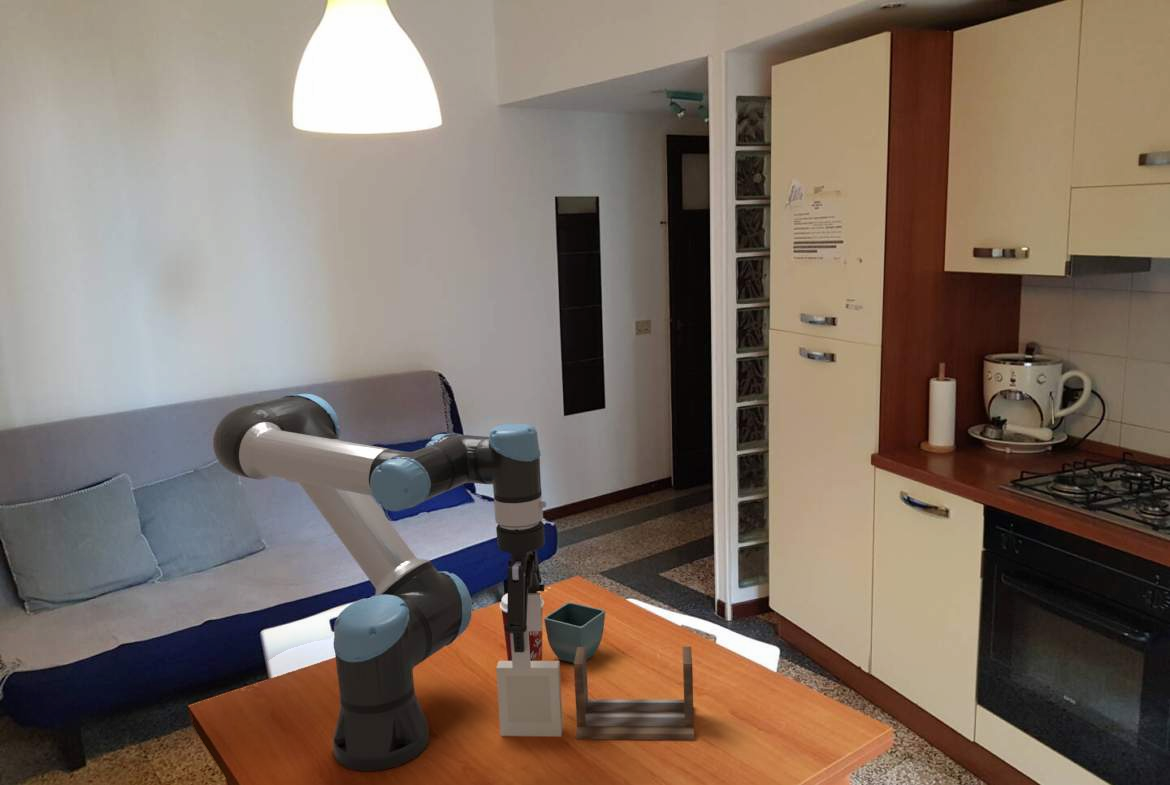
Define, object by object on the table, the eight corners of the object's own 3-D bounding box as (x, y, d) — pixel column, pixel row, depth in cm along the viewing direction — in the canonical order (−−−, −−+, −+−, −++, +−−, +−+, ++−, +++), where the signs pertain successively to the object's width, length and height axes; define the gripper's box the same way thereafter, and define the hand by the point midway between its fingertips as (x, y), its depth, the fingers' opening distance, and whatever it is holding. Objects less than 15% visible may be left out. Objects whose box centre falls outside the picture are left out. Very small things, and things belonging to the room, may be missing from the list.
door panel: (500, 736, 146) (496, 668, 144) (503, 727, 148) (498, 660, 146) (561, 736, 145) (557, 668, 143) (562, 728, 147) (559, 660, 145)
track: (576, 738, 144) (572, 669, 142) (581, 706, 154) (578, 641, 152) (694, 739, 142) (692, 670, 140) (692, 707, 152) (690, 641, 150)
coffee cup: (541, 685, 162) (537, 607, 159) (498, 682, 163) (493, 605, 161) (552, 663, 170) (548, 588, 167) (511, 660, 172) (506, 587, 169)
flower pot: (608, 653, 173) (606, 609, 171) (583, 672, 166) (581, 627, 164) (570, 643, 178) (568, 601, 176) (545, 662, 170) (542, 618, 169)
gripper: (532, 549, 128) (541, 687, 131) (553, 498, 152) (560, 615, 156) (480, 550, 128) (490, 687, 132) (509, 499, 153) (517, 616, 157)
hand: (528, 648), depth 144 cm, fingers open, 13 cm apart
